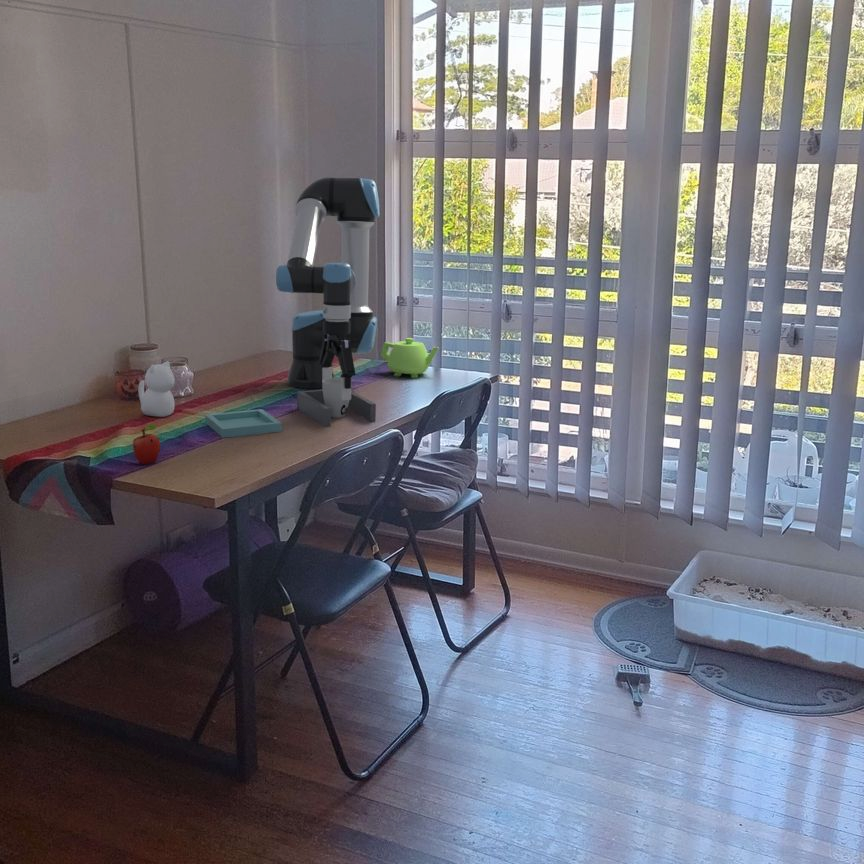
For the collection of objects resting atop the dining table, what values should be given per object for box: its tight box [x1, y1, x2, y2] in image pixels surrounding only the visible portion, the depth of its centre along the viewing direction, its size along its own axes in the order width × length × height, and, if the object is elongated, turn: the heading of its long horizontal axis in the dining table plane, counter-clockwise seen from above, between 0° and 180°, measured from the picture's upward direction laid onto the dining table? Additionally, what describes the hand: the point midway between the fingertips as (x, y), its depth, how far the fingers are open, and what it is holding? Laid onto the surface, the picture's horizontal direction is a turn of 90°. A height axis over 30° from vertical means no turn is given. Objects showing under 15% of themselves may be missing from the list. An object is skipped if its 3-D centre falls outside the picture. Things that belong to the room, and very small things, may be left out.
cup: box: [322, 377, 349, 419], centre depth 272 cm, size 8×8×10 cm
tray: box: [204, 408, 283, 439], centre depth 259 cm, size 16×16×2 cm
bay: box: [296, 389, 377, 427], centre depth 274 cm, size 22×15×5 cm
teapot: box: [380, 337, 440, 379], centre depth 327 cm, size 20×13×13 cm
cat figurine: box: [137, 360, 176, 418], centre depth 267 cm, size 9×12×15 cm
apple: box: [132, 423, 161, 465], centre depth 225 cm, size 8×7×10 cm
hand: (336, 394), depth 272 cm, fingers open, 13 cm apart
